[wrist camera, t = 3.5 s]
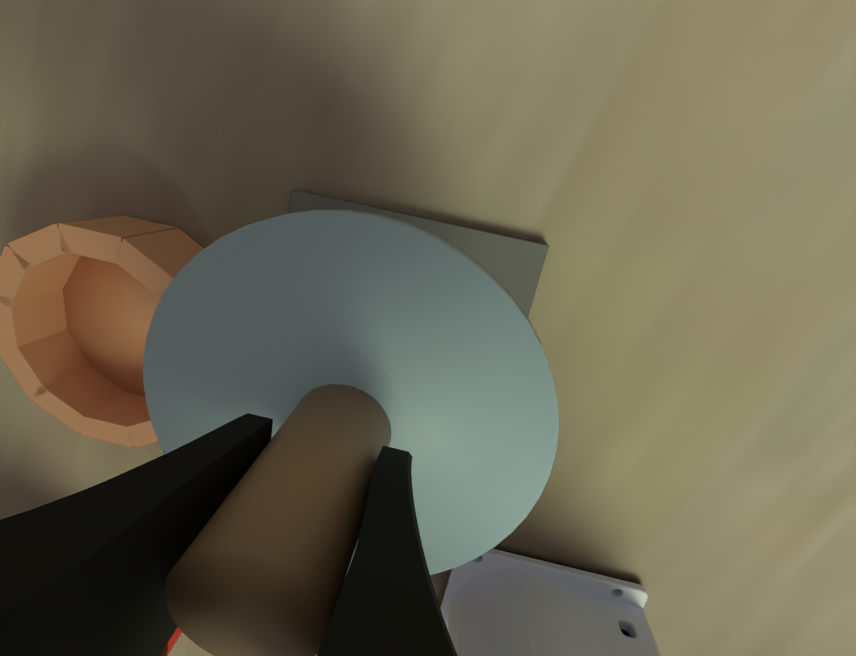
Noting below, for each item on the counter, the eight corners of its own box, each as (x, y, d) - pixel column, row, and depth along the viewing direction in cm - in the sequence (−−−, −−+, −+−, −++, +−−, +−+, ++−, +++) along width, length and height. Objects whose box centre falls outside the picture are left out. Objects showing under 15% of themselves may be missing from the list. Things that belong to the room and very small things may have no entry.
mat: (547, 244, 16) (548, 246, 16) (484, 456, 20) (484, 461, 19) (295, 189, 17) (290, 190, 16) (277, 407, 20) (273, 411, 20)
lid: (618, 265, 10) (782, 388, 4) (495, 598, 14) (504, 866, 8) (148, 164, 10) (-217, 166, 5) (166, 517, 14) (-19, 725, 9)
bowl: (254, 244, 18) (212, 257, 15) (244, 426, 21) (208, 466, 18) (48, 198, 18) (-32, 202, 15) (69, 384, 21) (7, 417, 18)
